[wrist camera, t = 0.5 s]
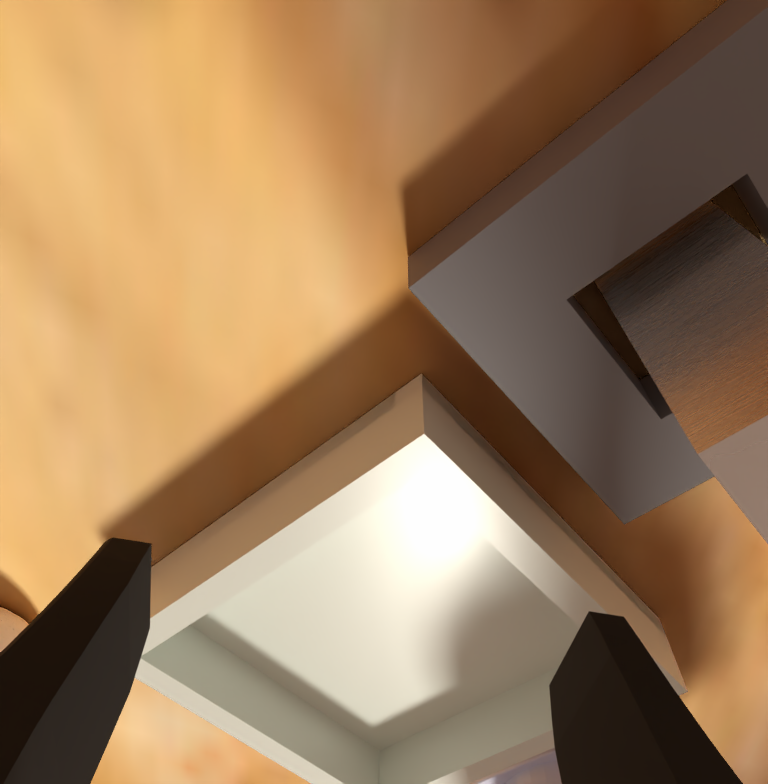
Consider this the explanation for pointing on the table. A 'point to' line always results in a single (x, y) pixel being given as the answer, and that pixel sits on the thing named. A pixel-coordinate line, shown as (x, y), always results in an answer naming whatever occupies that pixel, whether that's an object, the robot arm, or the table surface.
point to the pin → (705, 342)
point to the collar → (605, 252)
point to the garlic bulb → (10, 627)
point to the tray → (385, 607)
